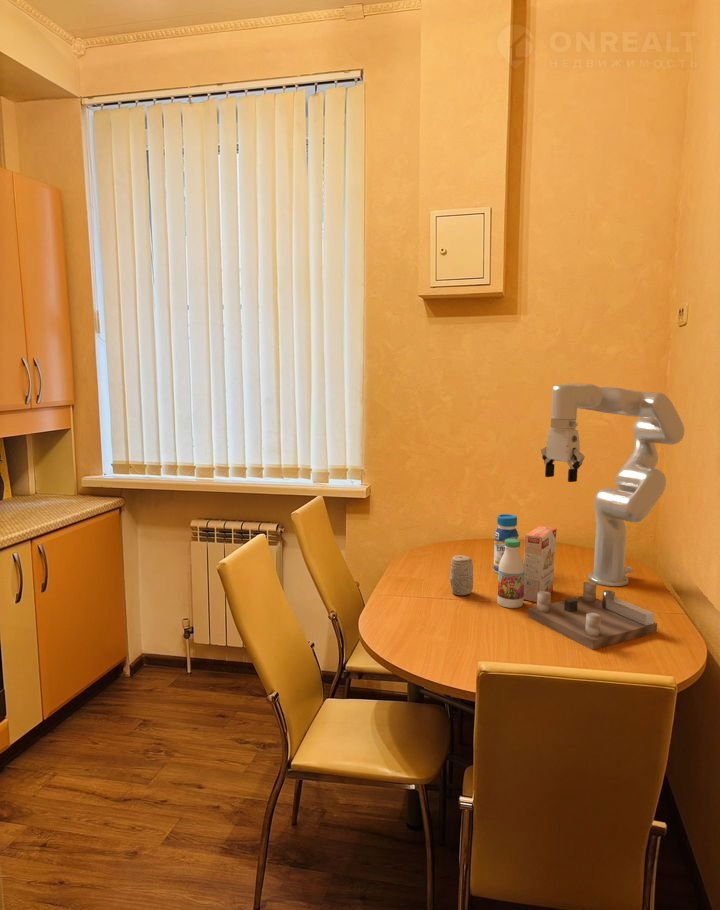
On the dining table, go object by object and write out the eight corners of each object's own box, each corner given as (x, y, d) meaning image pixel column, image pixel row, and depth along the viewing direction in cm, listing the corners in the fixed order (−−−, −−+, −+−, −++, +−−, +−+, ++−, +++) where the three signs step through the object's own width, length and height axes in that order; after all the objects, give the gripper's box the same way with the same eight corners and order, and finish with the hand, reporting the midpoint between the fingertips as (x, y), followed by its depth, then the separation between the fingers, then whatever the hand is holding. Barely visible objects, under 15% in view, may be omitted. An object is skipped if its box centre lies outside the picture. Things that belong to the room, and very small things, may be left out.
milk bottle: (493, 599, 193) (496, 537, 191) (518, 599, 194) (520, 536, 191) (501, 609, 186) (503, 544, 183) (526, 608, 186) (529, 543, 184)
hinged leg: (599, 606, 181) (600, 591, 181) (607, 604, 183) (608, 589, 182) (645, 625, 167) (646, 609, 167) (653, 623, 169) (654, 607, 168)
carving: (445, 591, 200) (446, 555, 199) (466, 588, 203) (467, 553, 201) (455, 598, 194) (456, 561, 193) (476, 595, 197) (477, 558, 195)
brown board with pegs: (588, 603, 191) (589, 579, 190) (656, 632, 170) (658, 605, 169) (527, 616, 180) (528, 591, 179) (592, 649, 159) (594, 621, 158)
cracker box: (540, 604, 190) (543, 537, 187) (521, 599, 194) (523, 534, 191) (554, 590, 202) (557, 527, 199) (536, 587, 205) (538, 524, 202)
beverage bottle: (516, 568, 224) (518, 513, 221) (518, 576, 216) (520, 519, 213) (492, 567, 225) (494, 512, 223) (493, 574, 217) (495, 518, 214)
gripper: (593, 426, 187) (590, 482, 190) (552, 422, 203) (549, 474, 205) (575, 427, 184) (572, 484, 186) (534, 422, 199) (532, 475, 202)
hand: (560, 479), depth 196 cm, fingers open, 9 cm apart
